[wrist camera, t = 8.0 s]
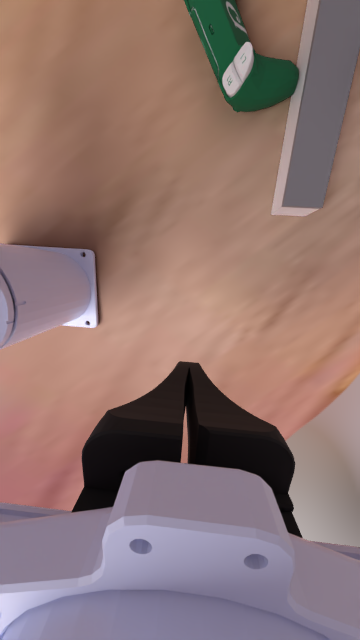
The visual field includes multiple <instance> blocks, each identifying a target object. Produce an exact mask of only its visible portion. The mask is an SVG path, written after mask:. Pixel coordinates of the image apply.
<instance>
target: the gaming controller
mask: <svg viewBox="0 0 360 640" xmlns="http://www.w3.org/2000/svg"><path fill="white" fill-rule="evenodd" d="M184 1H185V4H186V7H187V9H188V12H189V15H190V17H191V18H192V20H193V23H194V25H195V28H196V30H197V32H198V35H199V37H200V40H201V42H202V45H203V47H204V49H205V52H206V54H207V57H208V59H209V61H210V64H211V66H212V69H213V71H214V74H215V76H216V78H217V80H218V84H219V87H220V88H221V90H222V93H223V95H224V98H225V100H226V101H227V102H228V103H229V104H230V105H231V106H232V107H233V109H234V110H235V111H236V112H240V111H243V112H250V111H257V110H260V109H264V108H267V107H271V106H273V105H275V104H277V103H279V102H281V101H283V100H285V99H287V98H288V97H290V96H291V95H293V94H294V92H295V89H296V86H297V82H298V78H299V69H298V68H297V67H296V66H295V65H294V64H293V63H292V62H291V61H289V60H282V59H275V58H269V57H264V56H262V55H259V54H257V53H255V50H254V49H253V47H252V44H251V43H250V40H249V37H248V35H247V32H246V29H245V26H244V24H243V21H242V18H241V16H240V13H239V10H238V8H237V5H236V2H235V0H184Z"/></svg>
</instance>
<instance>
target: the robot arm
mask: <svg viewBox="0 0 360 640" xmlns="http://www.w3.org/2000/svg"><path fill="white" fill-rule="evenodd" d="M84 252H85V254H86V256H85V257H83V253H84ZM87 321H89V322H90V324H88V323H87ZM60 325H64V326H76V327H89V328H95V327H96V326H98V307H97V287H96V268H95V254H94V252H93V251H92V250H88V249H72V248H56V247H40V246H24V245H9V244H2V243H0V349H3V348H5V347H8V346H10V345H13V344H15V343H18V342H20V341H23V340H25V339H28V338H30V337H33V336H35V335H38V334H40V333H43V332H45V331H48V330H50V329H53V328H55V327H58V326H60ZM185 407H186V413H187V429H188V464H187V463H181V451H182V439H183V420H184V414H185ZM82 466H83V477H84V488H83V490H82V492H81V494H80V496H79V498H78V500H77V502H76V504H75V506H74V508H73V510H72V511H66V510H58V509H50V508H42V507H34V506H26V505H18V504H10V503H2V502H0V640H360V547H354V546H346V545H338V544H330V543H322V542H314V541H308V540H305V539H303V538H302V535H301V533H300V531H299V528H298V526H297V524H296V521H295V519H294V517H293V514H292V512H293V509H294V507H293V504H292V501H291V499H290V497H289V494H288V491H289V487H290V484H291V481H292V477H293V474H294V469H295V461H294V457H293V454H292V452H291V451H290V449H289V447H288V445H287V443H286V442H285V440H284V438H283V437H282V435H281V434H280V432H279V431H278V429H277V428H276V427H275V426H273V425H271V424H269V423H267V422H265V421H263V420H261V419H259V418H257V417H256V416H254V415H252V414H250V413H249V412H247V411H245V410H244V409H242V408H241V407H239V406H238V405H237V404H235V403H234V402H233V401H231V400H230V399H229V398H227V397H226V396H225V395H224V394H223V393H222V392H221V391H220V390H219V389H218V388H217V387H216V386H215V385H214V384H213V383H212V382H211V380H210V379H209V378H208V376H207V375H206V374H205V372H204V371H203V369H202V367H201V366H200V364H199V363H192V362H181V361H180V362H178V364H177V365H176V367H175V368H174V370H173V371H172V372H171V373H170V374H169V376H168V377H167V378H166V379H165V380H164V381H163V382H162V383H161V384H159V385H158V386H157V387H156V388H155V389H153V390H152V391H150V392H149V393H147V394H145V395H144V396H142V397H140V398H138V399H136V400H134V401H132V402H130V403H127V404H125V405H122V406H119V407H117V408H114V409H111V410H108V411H107V412H106V414H105V415H104V416H103V418H102V419H101V420H100V421H99V423H98V424H97V426H96V427H95V429H94V430H93V432H92V434H91V435H90V437H89V438H88V440H87V442H86V443H85V445H84V448H83V450H82ZM291 511H292V512H291Z"/></svg>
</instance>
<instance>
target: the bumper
mask: <svg viewBox="0 0 360 640" xmlns="http://www.w3.org/2000/svg"><path fill="white" fill-rule="evenodd" d="M359 49H360V0H308V1H307V7H306V12H305V18H304V24H303V30H302V36H301V42H300V47H299V53H298V59H297V65H296V67H297V68H298V69H299V78H298V82H297V86H296V89H295V92H294V94H293V95H291V100H290V106H289V112H288V118H287V123H286V129H285V135H284V141H283V147H282V153H281V158H280V164H279V170H278V176H277V182H276V188H275V193H274V199H273V205H272V211H271V215H286V216H307V215H309V214H311V213H313V212H315V211H317V210H319V209H321V208H323V203H324V199H325V195H326V191H327V186H328V182H329V178H330V173H331V169H332V165H333V161H334V156H335V152H336V148H337V144H338V139H339V135H340V131H341V126H342V122H343V118H344V114H345V109H346V105H347V101H348V97H349V92H350V88H351V84H352V79H353V75H354V71H355V67H356V62H357V58H358V54H359Z"/></svg>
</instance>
